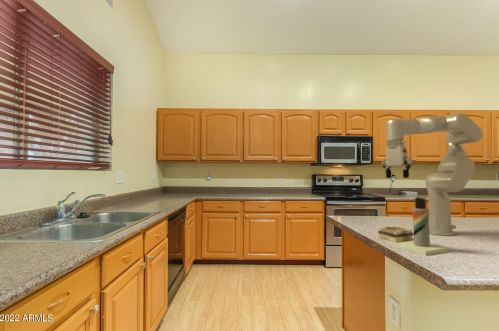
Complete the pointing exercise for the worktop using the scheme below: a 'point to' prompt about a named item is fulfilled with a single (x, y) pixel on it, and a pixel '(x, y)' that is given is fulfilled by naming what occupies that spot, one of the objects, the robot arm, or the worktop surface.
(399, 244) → the board
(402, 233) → the holder
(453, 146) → the robot arm
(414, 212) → the lotion bottle
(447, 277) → the worktop surface
